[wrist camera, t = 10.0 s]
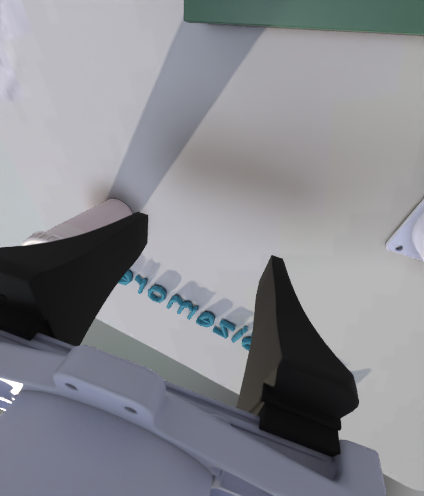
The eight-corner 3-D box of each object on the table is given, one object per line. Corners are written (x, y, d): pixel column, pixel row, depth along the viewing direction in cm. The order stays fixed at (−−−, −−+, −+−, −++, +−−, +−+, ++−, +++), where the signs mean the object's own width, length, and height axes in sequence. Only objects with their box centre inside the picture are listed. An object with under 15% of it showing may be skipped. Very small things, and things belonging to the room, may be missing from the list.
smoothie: (86, 182, 26) (-57, 267, 16) (140, 191, 25) (27, 289, 15) (100, 231, 30) (-6, 326, 20) (147, 241, 29) (62, 347, 19)
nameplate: (329, 392, 38) (355, 382, 35) (330, 397, 38) (356, 388, 34) (115, 280, 35) (121, 259, 32) (112, 284, 35) (118, 263, 32)
